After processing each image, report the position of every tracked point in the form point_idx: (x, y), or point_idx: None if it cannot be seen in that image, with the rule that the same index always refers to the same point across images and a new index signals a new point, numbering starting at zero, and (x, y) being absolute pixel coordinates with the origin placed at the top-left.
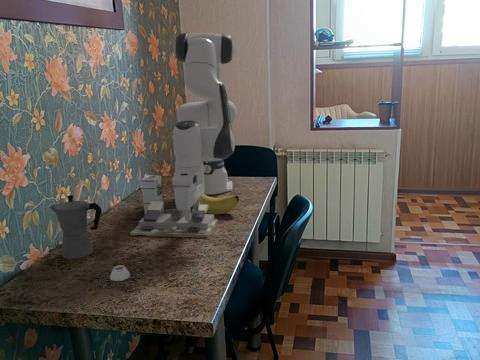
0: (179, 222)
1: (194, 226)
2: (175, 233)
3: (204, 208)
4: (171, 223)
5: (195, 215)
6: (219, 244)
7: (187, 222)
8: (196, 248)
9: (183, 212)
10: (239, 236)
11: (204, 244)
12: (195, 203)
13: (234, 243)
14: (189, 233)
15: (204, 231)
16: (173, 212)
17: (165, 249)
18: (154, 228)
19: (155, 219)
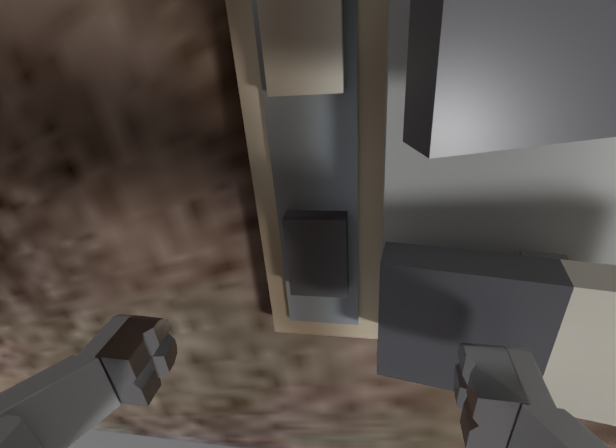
0: (394, 115)
1: (381, 248)
2: (250, 111)
3: (597, 408)
4: (390, 3)
5: (406, 324)
6: (210, 374)
7: (396, 203)
8: (126, 290)
9: (3, 395)
10: (326, 437)
11: (187, 317)
12: (538, 445)
13: (239, 422)
14: (275, 224)
15: (318, 315)
16: (414, 47)
17: (29, 121)
18: None
19: None
